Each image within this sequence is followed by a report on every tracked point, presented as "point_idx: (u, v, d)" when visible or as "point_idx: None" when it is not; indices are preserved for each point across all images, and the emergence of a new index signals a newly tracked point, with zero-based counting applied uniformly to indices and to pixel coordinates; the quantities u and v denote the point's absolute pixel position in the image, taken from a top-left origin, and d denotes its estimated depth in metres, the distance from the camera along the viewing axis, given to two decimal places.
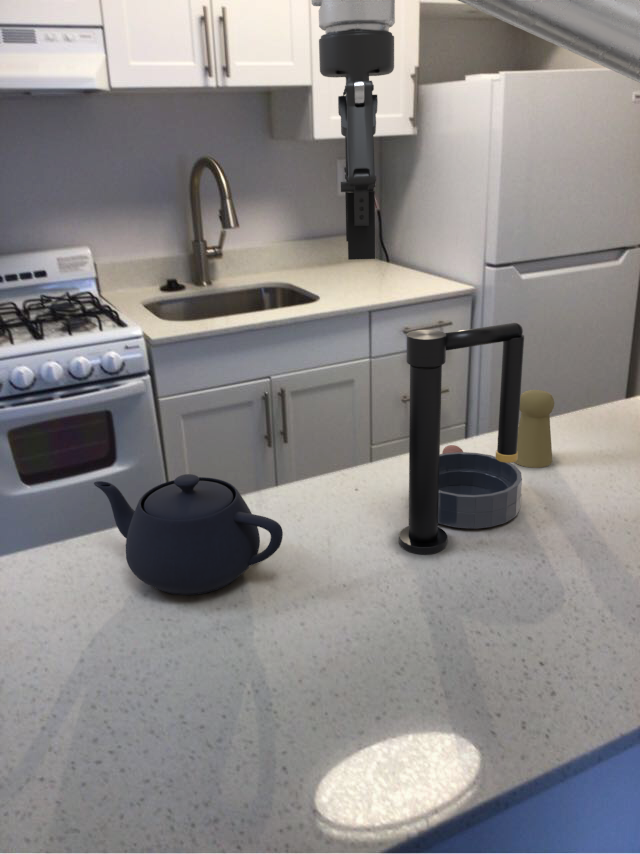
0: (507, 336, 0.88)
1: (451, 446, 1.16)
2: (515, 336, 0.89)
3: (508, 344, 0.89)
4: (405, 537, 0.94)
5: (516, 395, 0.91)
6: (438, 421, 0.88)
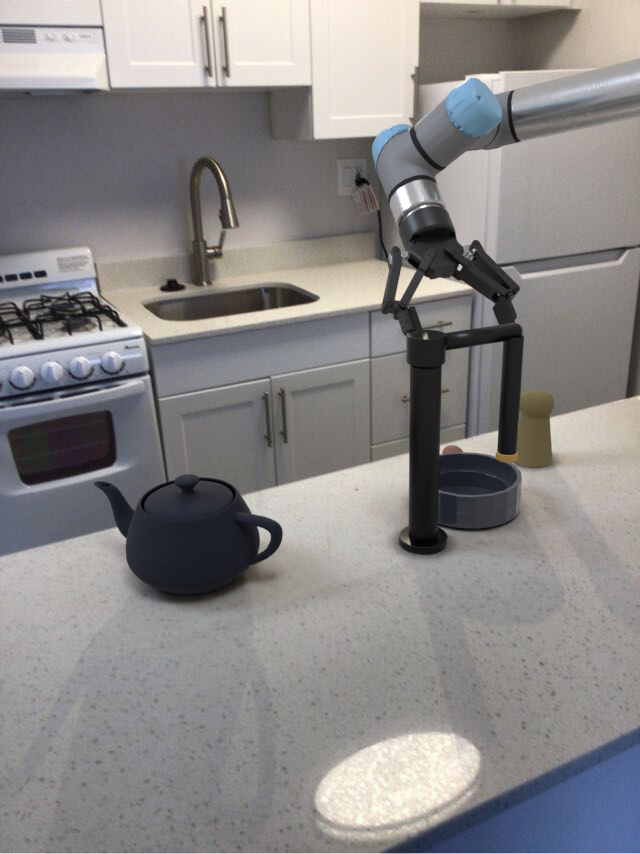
0: (507, 336, 0.88)
1: (451, 446, 1.16)
2: (515, 336, 0.89)
3: (508, 344, 0.89)
4: (405, 537, 0.94)
5: (516, 395, 0.91)
6: (438, 421, 0.88)
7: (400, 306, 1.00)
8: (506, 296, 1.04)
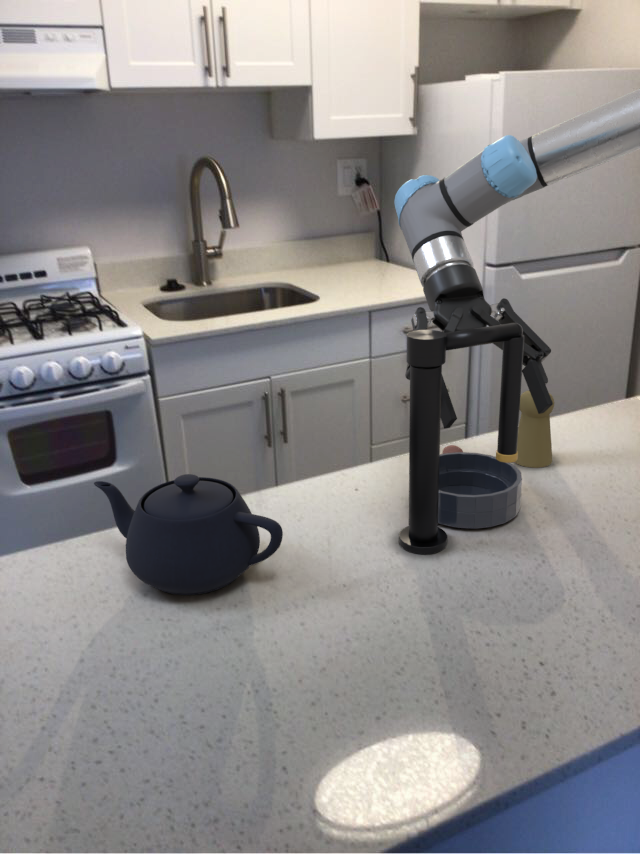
0: (507, 336, 0.88)
1: (451, 446, 1.16)
2: (515, 336, 0.89)
3: (508, 344, 0.89)
4: (405, 537, 0.94)
5: (516, 395, 0.91)
6: (438, 421, 0.88)
7: None
8: (537, 359, 0.99)
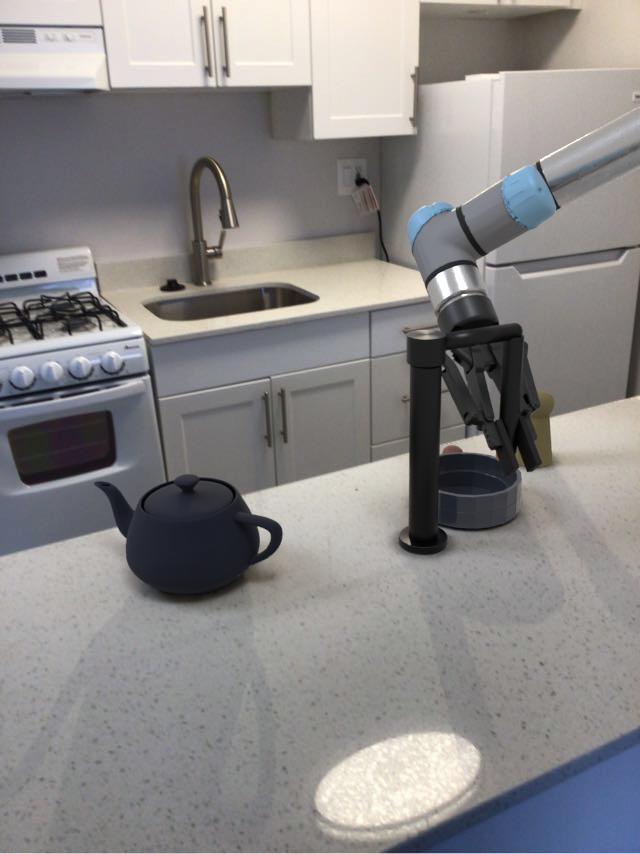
0: (507, 336, 0.88)
1: (451, 446, 1.16)
2: (515, 336, 0.89)
3: (508, 344, 0.89)
4: (405, 537, 0.94)
5: (516, 395, 0.91)
6: (438, 421, 0.88)
7: (488, 420, 0.93)
8: (523, 413, 0.94)
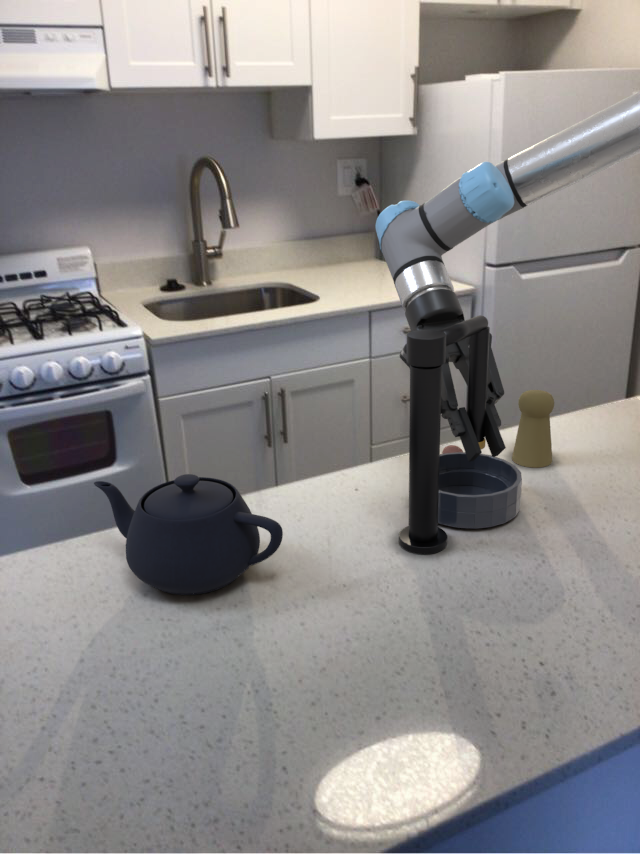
0: (480, 328, 0.92)
1: (451, 446, 1.16)
2: (484, 328, 0.93)
3: (478, 336, 0.93)
4: (405, 537, 0.94)
5: (485, 383, 0.96)
6: (438, 421, 0.88)
7: (452, 408, 0.98)
8: (487, 401, 0.99)
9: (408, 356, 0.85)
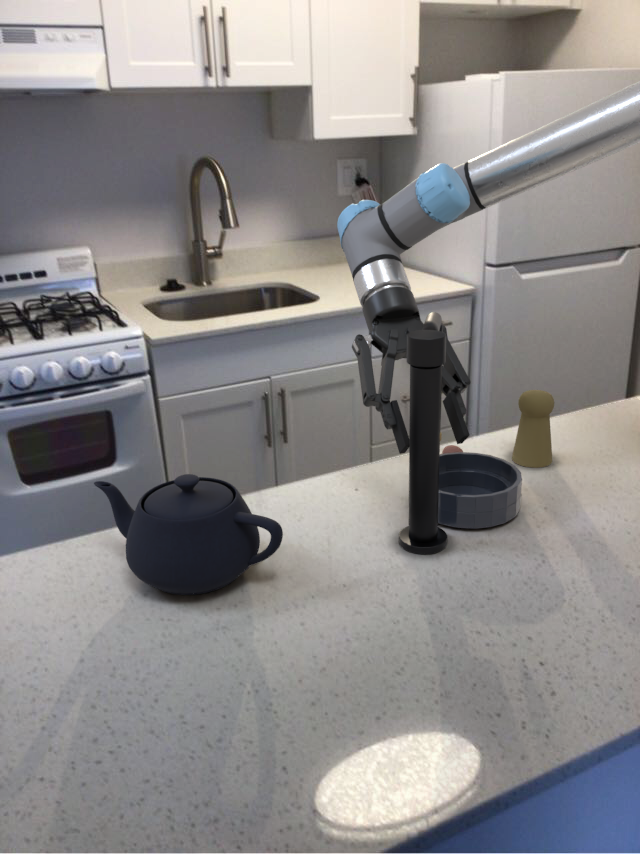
0: None
1: (451, 446, 1.16)
2: (440, 323, 0.96)
3: None
4: (405, 537, 0.94)
5: None
6: (438, 421, 0.88)
7: (383, 401, 0.99)
8: (454, 390, 1.02)
9: (414, 358, 0.84)
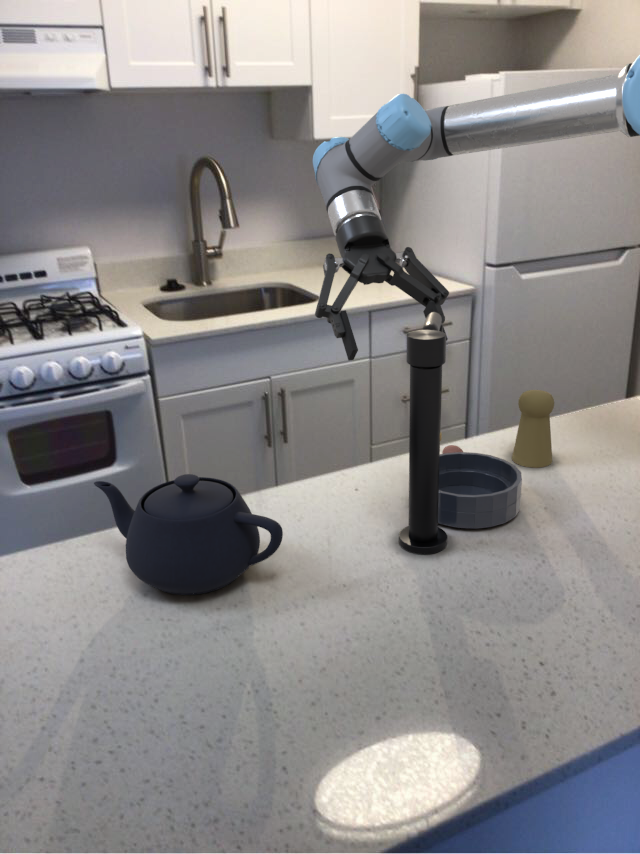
0: None
1: (451, 446, 1.16)
2: (440, 323, 0.96)
3: None
4: (405, 537, 0.94)
5: None
6: (438, 421, 0.88)
7: (332, 310, 1.06)
8: (435, 300, 1.10)
9: (414, 358, 0.84)
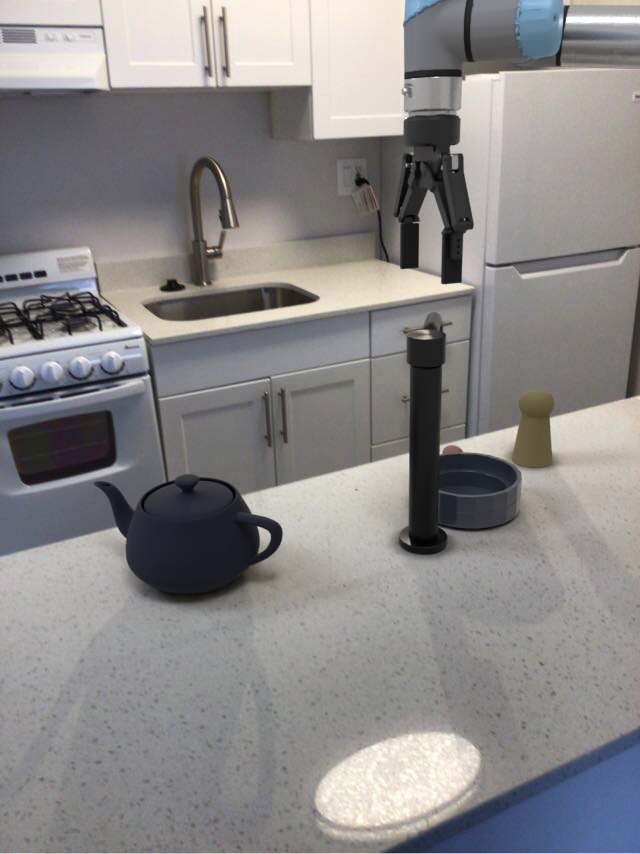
0: None
1: (451, 446, 1.16)
2: (440, 323, 0.96)
3: None
4: (405, 537, 0.94)
5: None
6: (438, 421, 0.88)
7: (464, 231, 0.98)
8: (414, 221, 1.12)
9: (414, 358, 0.84)
